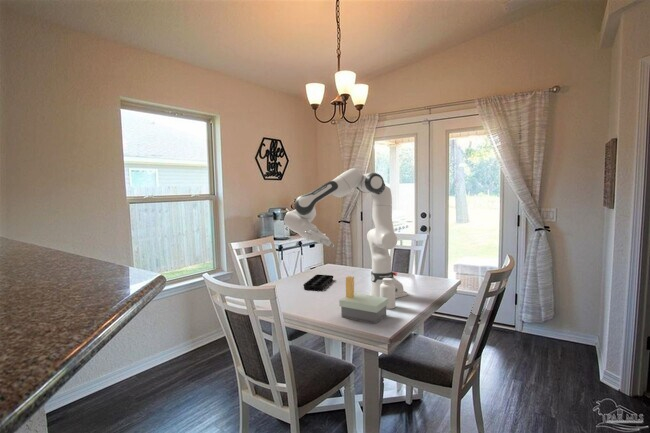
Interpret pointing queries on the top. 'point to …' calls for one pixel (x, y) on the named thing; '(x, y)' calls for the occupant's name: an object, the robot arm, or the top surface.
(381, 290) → the pill bottle
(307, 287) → the black compartment tray
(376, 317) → the tub
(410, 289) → the top surface
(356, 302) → the lid
